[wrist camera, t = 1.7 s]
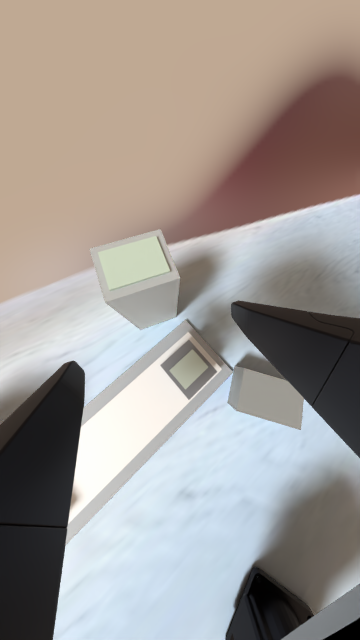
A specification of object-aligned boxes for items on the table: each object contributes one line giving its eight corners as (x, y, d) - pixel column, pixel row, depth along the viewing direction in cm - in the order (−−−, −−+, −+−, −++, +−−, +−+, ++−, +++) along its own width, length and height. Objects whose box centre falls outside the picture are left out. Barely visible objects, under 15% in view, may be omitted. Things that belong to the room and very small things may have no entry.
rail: (232, 371, 20) (236, 373, 18) (29, 580, 14) (14, 603, 13) (185, 320, 21) (186, 317, 19) (-18, 495, 16) (-36, 508, 14)
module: (176, 317, 21) (180, 276, 10) (140, 329, 20) (103, 301, 9) (166, 291, 22) (160, 226, 11) (131, 302, 21) (87, 246, 10)
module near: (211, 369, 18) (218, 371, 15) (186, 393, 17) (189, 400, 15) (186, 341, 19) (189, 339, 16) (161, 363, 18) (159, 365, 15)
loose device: (285, 381, 20) (304, 385, 17) (280, 418, 19) (300, 430, 16) (233, 365, 20) (244, 367, 17) (226, 402, 19) (236, 410, 16)
